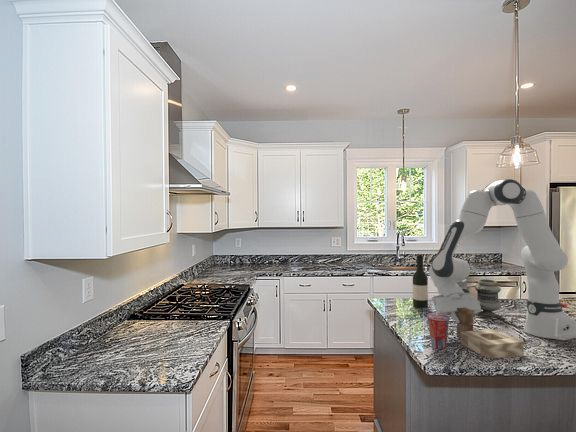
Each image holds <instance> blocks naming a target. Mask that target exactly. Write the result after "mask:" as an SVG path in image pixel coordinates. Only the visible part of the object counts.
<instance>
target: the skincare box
mask: <svg viewBox="0 0 576 432" xmlns="http://www.w3.org/2000/svg"><path fill="white" fill-rule="evenodd" d="M456 284H457V285H459V287H461V288H465V289H468V288H467V287H468V279H467V278H466V279H464V280H463V281H461V282H458V283H456Z"/></svg>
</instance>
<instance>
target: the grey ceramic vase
mask: <svg viewBox="0 0 576 432" xmlns="http://www.w3.org/2000/svg"><path fill="white" fill-rule="evenodd" d="M474 289H475V291H477V292H476V293H477V294H476V295H477V296H476V299H477V301H478V302H479V304H480V306H481V310H480V311H479V312H478V313H476V315H478V316H479V317H483V318H491V319H495V318H499V315H498V314H497V313H495V311H499V310H500V309H502V304H501V302H500V301H499V293H500V292H501V291H502V290H501V286H499V284H498V282H497V280H495V279H487V278H485V279H484V278H483V279H479V280H478V281H477V283H476V284H475V285H474Z"/></svg>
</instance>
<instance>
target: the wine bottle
mask: <svg viewBox="0 0 576 432" xmlns="http://www.w3.org/2000/svg"><path fill="white" fill-rule="evenodd" d="M428 282H429V281H428V275H427V274H426V272H425V271H424V255H423V254H422V253H417V255H416V271H415V272H414V274H413V276H412V307H415V308H418V309H419V308H421V309H424V308H428V307H429V289H428V288H429V287H428V286H429V285H428Z"/></svg>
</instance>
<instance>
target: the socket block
mask: <svg viewBox="0 0 576 432" xmlns="http://www.w3.org/2000/svg"><path fill="white" fill-rule="evenodd" d="M460 345H461V346H464V347H465V348H467V349H469V350H471V351H473V352H475V353H477V354H478V355H480V356H482V357H485V359H488V360H490V359H499V358H509V357H517V356H519V357H520V356H524V355H525V354H524V353H525V351H524V348H525V346H524V341H523V340H520V339H518V338H515V337H513V336H511V335H508V334H505V333H503V332H502V331H501V332H500V331H499V330H496V329H493V328H491V329H489V328H488V329H475V330H473V331H464V332H461V338H460Z"/></svg>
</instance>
